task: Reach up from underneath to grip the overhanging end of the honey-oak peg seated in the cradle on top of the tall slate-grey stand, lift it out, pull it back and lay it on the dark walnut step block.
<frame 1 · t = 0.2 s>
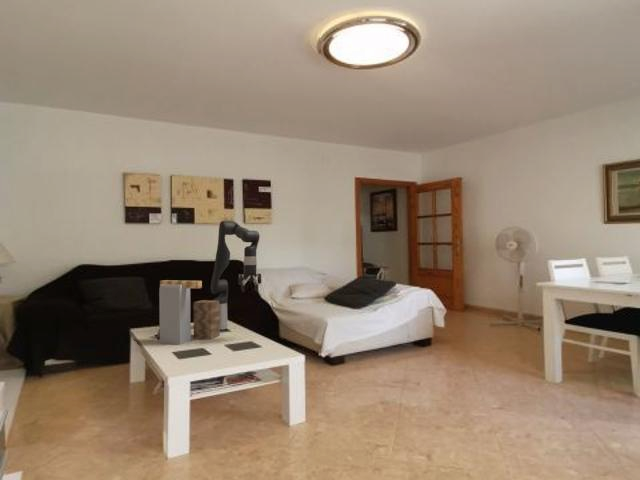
hand: (249, 291, 245), 29 cm above the table, tool pointing down, fingers open, 8 cm apart
phone stand: (164, 337, 255), on the table
walnut step: (206, 337, 254), on the table
grey stand: (175, 341, 242), on the table
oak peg: (180, 287, 241), point 32 cm above the table, touching grey stand
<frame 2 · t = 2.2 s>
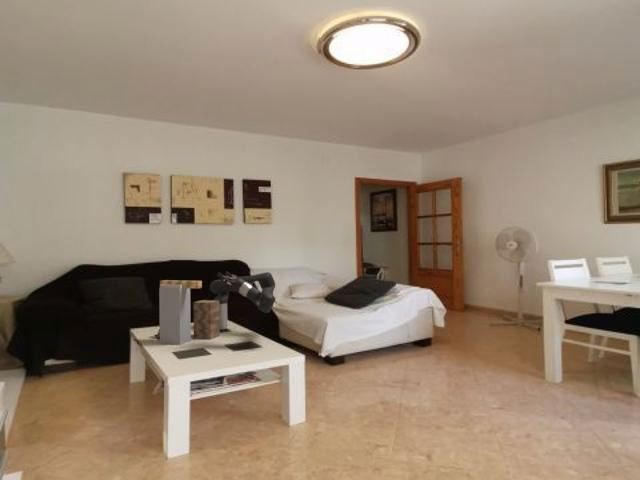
hand: (221, 273, 237), 40 cm above the table, tool pointing upward, fingers open, 8 cm apart
nothing on the table moved.
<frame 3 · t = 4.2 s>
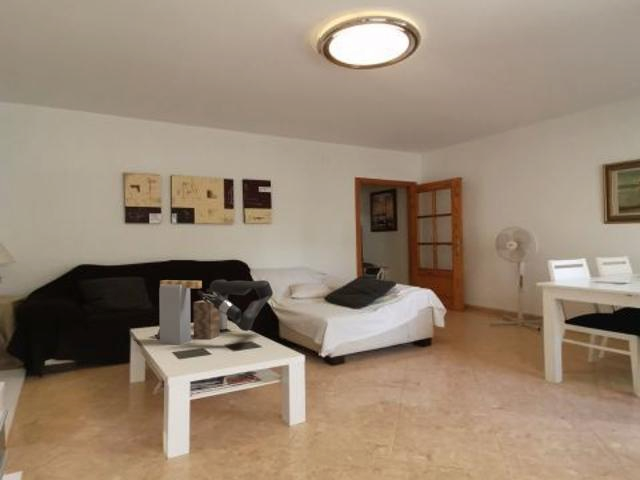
hand: (202, 290, 237), 30 cm above the table, tool pointing upward, fingers open, 8 cm apart
nothing on the table moved.
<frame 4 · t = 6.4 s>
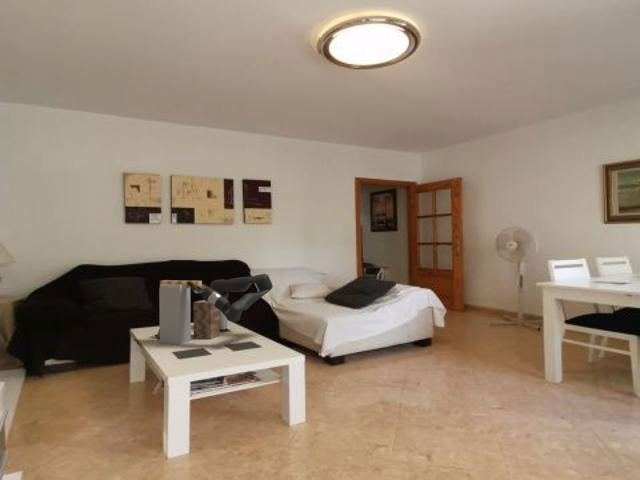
hand: (190, 282, 239), 35 cm above the table, tool pointing upward, fingers closed on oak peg, 4 cm apart
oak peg: (180, 287, 241), point 32 cm above the table, touching grey stand, gripper
everything else where it was.
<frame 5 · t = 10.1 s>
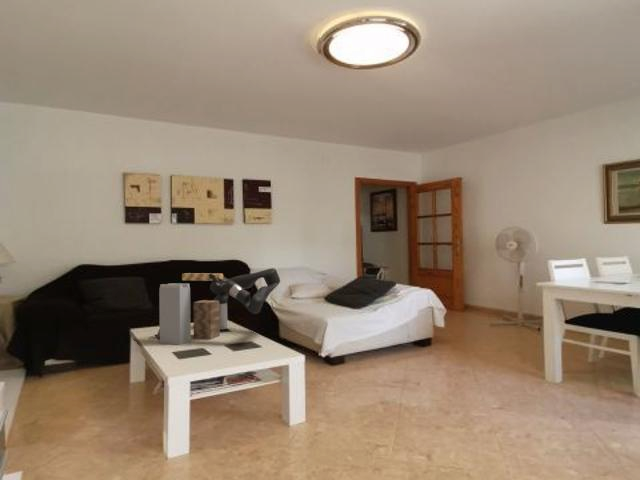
hand: (211, 274, 244), 39 cm above the table, tool pointing upward, fingers closed on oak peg, 4 cm apart
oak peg: (202, 280, 247), point 36 cm above the table, touching gripper
everything else where it was.
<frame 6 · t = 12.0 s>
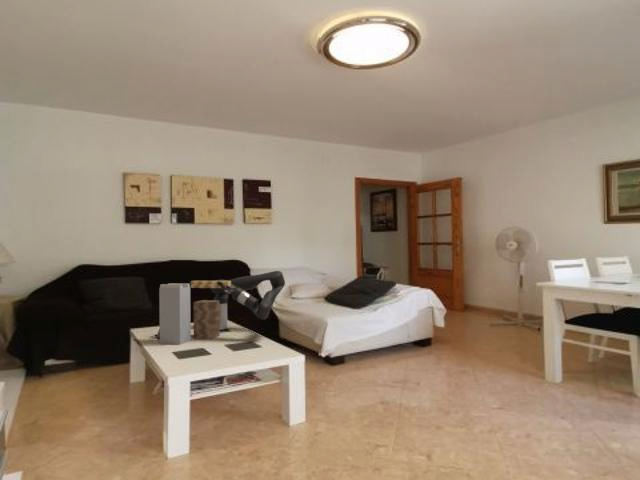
hand: (220, 282, 252), 34 cm above the table, tool pointing upward, fingers closed on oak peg, 4 cm apart
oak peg: (210, 287, 254), point 31 cm above the table, touching gripper
everything else where it was.
when the fingers open (26 cm above the table, at t = 13.7 s): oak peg stays where it is, resting on walnut step.
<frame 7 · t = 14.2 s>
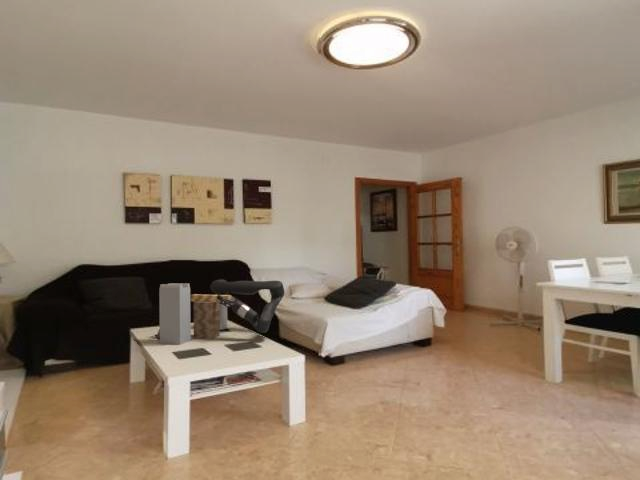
hand: (221, 295, 251), 26 cm above the table, tool pointing upward, fingers open, 8 cm apart
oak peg: (210, 301, 253), point 22 cm above the table, touching walnut step
everything else where it was.
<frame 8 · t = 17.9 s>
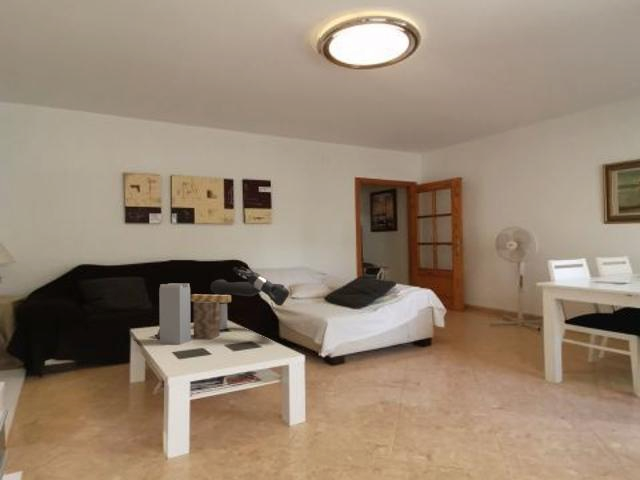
hand: (237, 267, 247), 43 cm above the table, tool pointing upward, fingers open, 8 cm apart
nothing on the table moved.
at the end: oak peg inside the target area on the walnut step (3.1 cm from its centre), point 22.0 cm above the walnut step's base; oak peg touching walnut step; the gripper is holding nothing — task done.
